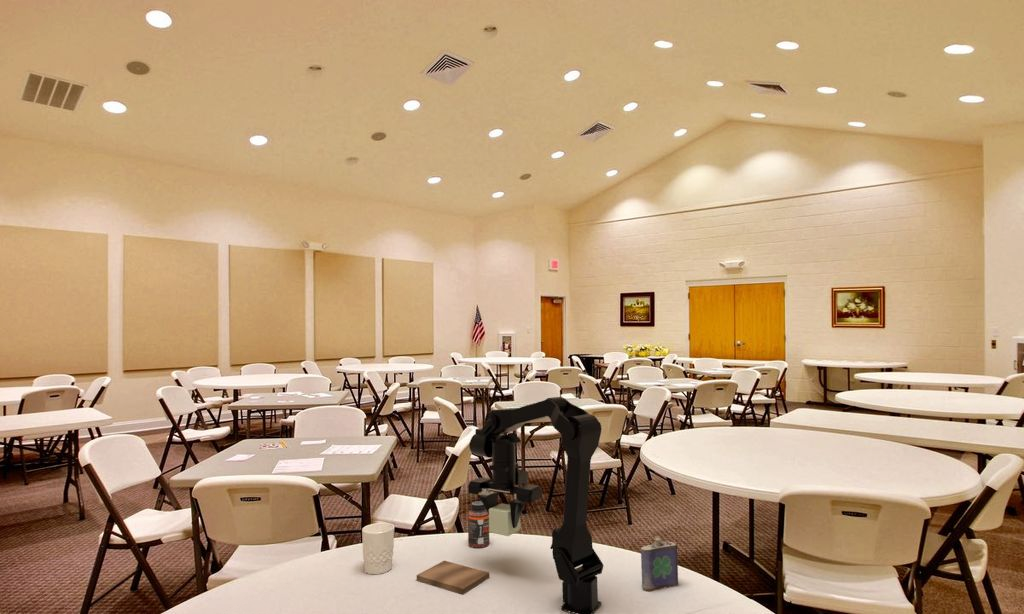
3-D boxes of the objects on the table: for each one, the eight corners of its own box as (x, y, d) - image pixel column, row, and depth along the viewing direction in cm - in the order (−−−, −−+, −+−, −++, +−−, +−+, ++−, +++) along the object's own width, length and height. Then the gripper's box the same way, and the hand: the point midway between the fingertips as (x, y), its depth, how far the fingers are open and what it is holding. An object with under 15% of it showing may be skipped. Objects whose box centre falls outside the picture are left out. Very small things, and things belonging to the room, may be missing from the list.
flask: (646, 592, 113) (644, 542, 114) (638, 586, 116) (636, 537, 117) (681, 585, 116) (679, 536, 117) (673, 580, 119) (671, 532, 120)
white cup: (359, 566, 131) (359, 525, 131) (390, 560, 134) (390, 520, 135) (364, 578, 123) (364, 535, 124) (397, 571, 127) (397, 529, 128)
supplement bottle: (486, 549, 140) (486, 506, 141) (465, 547, 142) (465, 505, 143) (491, 541, 146) (491, 500, 147) (471, 540, 147) (471, 499, 148)
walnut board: (489, 577, 122) (489, 572, 122) (463, 594, 114) (463, 588, 114) (444, 565, 130) (444, 560, 130) (416, 580, 122) (416, 575, 122)
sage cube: (520, 529, 126) (519, 506, 127) (508, 536, 122) (507, 512, 122) (501, 525, 129) (501, 503, 130) (489, 532, 125) (488, 509, 125)
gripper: (552, 458, 129) (554, 522, 127) (491, 451, 139) (492, 511, 137) (529, 466, 119) (531, 536, 118) (466, 459, 130) (466, 523, 128)
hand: (504, 525), depth 126 cm, fingers closed on sage cube, 5 cm apart
